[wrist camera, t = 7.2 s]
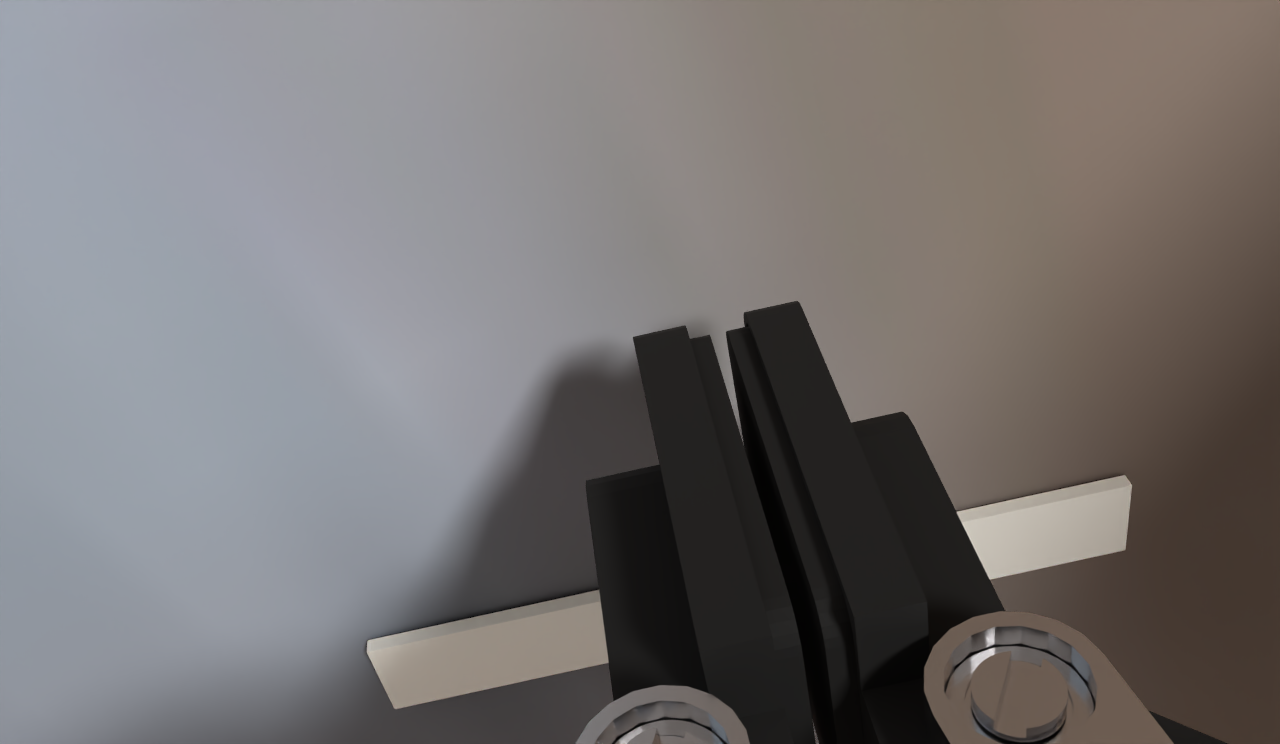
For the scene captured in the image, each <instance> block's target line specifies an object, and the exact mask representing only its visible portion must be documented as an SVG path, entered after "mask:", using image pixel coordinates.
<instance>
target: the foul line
mask: <svg viewBox="0 0 1280 744" xmlns="http://www.w3.org/2000/svg"><path fill="white" fill-rule="evenodd" d="M1131 491H1132V484H1131V483H1130V482H1129V480H1128V479H1127V477H1126V476H1125V475H1123V476H1118V477H1113V478H1109V479H1104V480H1100V481H1095V482H1090V483H1086V484H1081V485H1077V486H1072V487H1068V488H1063V489H1058V490H1054V491H1049V492H1045V493H1040V494H1035V495H1031V496H1026V497H1022V498H1017V499H1013V500H1008V501H1003V502H999V503H994V504H990V505H985V506H981V507H976V508H971V509H967V510H962V511H958V512H957V514H958V516H959V518H960V521H961V523H962V525H963V527H964V529H965V531H966V533H967V535H968V537H969V539H970V541H971V543H972V545H973V547H974V549H975V551H976V553H977V555H978V557H979V559H980V561H981V563H982V565H983V567H984V569H985V571H986V573H987V575H988V577H989V579H990V580H991V579H995V578H1000V577H1004V576H1009V575H1014V574H1018V573H1023V572H1027V571H1032V570H1037V569H1041V568H1046V567H1050V566H1055V565H1059V564H1064V563H1069V562H1073V561H1078V560H1082V559H1087V558H1092V557H1096V556H1101V555H1105V554H1110V553H1115V552H1119V551H1124V550H1125V549H1126V539H1127V530H1128V520H1129V510H1130V501H1131ZM367 654H368V656H369V658H370V660H371V662H372V664H373V666H374V668H375V670H376V672H377V674H378V676H379V678H380V680H381V682H382V685H383V687H384V689H385V691H386V693H387V695H388V697H389V699H390V701H391V703H392V705H393V707H394V709H399V708H403V707H408V706H413V705H417V704H422V703H426V702H431V701H436V700H440V699H445V698H449V697H454V696H458V695H463V694H468V693H472V692H477V691H481V690H486V689H491V688H495V687H500V686H504V685H509V684H514V683H518V682H523V681H527V680H532V679H536V678H541V677H546V676H550V675H555V674H559V673H564V672H569V671H573V670H578V669H582V668H587V667H591V666H596V665H601V664H605V663H609V661H608V653H607V646H606V638H605V631H604V623H603V615H602V608H601V600H600V593H599V590H596V591H591V592H587V593H582V594H578V595H573V596H568V597H564V598H559V599H555V600H550V601H545V602H541V603H536V604H532V605H527V606H523V607H518V608H513V609H509V610H504V611H500V612H495V613H490V614H486V615H481V616H477V617H472V618H468V619H463V620H458V621H454V622H449V623H445V624H440V625H436V626H431V627H426V628H422V629H417V630H413V631H408V632H403V633H399V634H394V635H390V636H385V637H381V638H376V639H371V640H368V642H367Z"/></svg>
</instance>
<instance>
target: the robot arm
mask: <svg viewBox="0 0 1280 744" xmlns="http://www.w3.org/2000/svg"><path fill="white" fill-rule="evenodd" d="M744 325H745V327H744V328H739V329H734V330H730V331H727V332H726V337H727V344H728V350H729V356H730V362H731V368H732V374H733V380H734V387H735V393H736V399H737V405H738V411H739V417H740V423H741V429H742V435H743V441H744V445H743V442H742V439H741V435H740V432H739V429H738V426H737V422H736V419H735V416H734V412H733V409H732V406H731V402H730V399H729V396H728V393H727V389H726V386H725V383H724V379H723V376H722V373H721V370H720V366H719V363H718V360H717V356H716V353H715V350H714V346H713V343H712V340H711V337H710V335H707V336H703V337H698V338H693V339H690V338H689V335H688V331H687V328H686V326H681V327H676V328H672V329H667V330H662V331H658V332H653V333H649V334H644V335H640V336H635V337H633V340H634V345H635V350H636V354H637V359H638V364H639V369H640V373H641V378H642V383H643V388H644V392H645V397H646V402H647V406H648V411H649V416H650V421H651V425H652V430H653V435H654V440H655V444H656V449H657V454H658V459H659V463H660V465H656V466H651V467H647V468H642V469H638V470H633V471H629V472H624V473H620V474H615V475H610V476H606V477H601V478H597V479H592V480H588V481H586V493H587V502H588V509H589V517H590V524H591V532H592V540H593V547H594V555H595V562H596V570H597V578H598V585H599V593H600V600H601V608H602V615H603V623H604V631H605V638H606V646H607V653H608V661H609V669H610V676H611V684H612V691H613V699H614V701H613V702H611V703H609V704H608V705H607V706H606V707H605V708H604V709H603V710H601V711H600V712H599V713H598V714H597V715H596V716H595V717H594V718H593V719H591V720H590V721H589V722H588V724H587V725H586V727H585V729H584V730H583V732H582V734H581V735H580V737H579V738H578V740H577V742H576V743H575V744H816V743H815V736H814V729H813V723H814V727H815V730H816V734H817V737H818V740H819V744H1227V743H1225V742H1222V741H1220V740H1218V739H1215V738H1213V737H1210V736H1208V735H1206V734H1203V733H1201V732H1198V731H1196V730H1194V729H1191V728H1189V727H1187V726H1184V725H1182V724H1179V723H1177V722H1175V721H1172V720H1170V719H1167V718H1165V717H1163V716H1160V715H1158V714H1155V713H1153V712H1151V711H1148V710H1147V709H1146V707H1145V706H1144V705H1143V703H1142V702H1141V701H1140V700H1139V698H1138V697H1137V696H1136V694H1135V693H1134V692H1133V691H1132V689H1131V688H1130V687H1129V685H1128V684H1127V683H1126V682H1125V680H1124V679H1123V678H1122V676H1121V675H1120V674H1119V673H1118V671H1117V670H1116V669H1115V668H1114V666H1113V665H1112V664H1111V662H1110V661H1109V660H1108V659H1107V657H1106V656H1105V655H1104V653H1103V652H1102V651H1100V650H1099V649H1098V648H1097V647H1096V646H1095V645H1094V644H1093V643H1092V642H1091V641H1090V640H1089V639H1088V638H1087V637H1086V636H1085V635H1084V634H1082V633H1081V632H1079V631H1077V630H1075V629H1073V628H1071V627H1070V626H1068V625H1066V624H1064V623H1062V622H1060V621H1059V620H1056V619H1052V618H1049V617H1045V616H1041V615H1037V614H1034V613H1030V612H1007V611H1005V610H1004V608H1003V606H1002V604H1001V602H1000V600H999V598H998V596H997V594H996V592H995V590H994V588H993V585H992V583H991V581H990V579H989V577H988V575H987V573H986V571H985V569H984V567H983V565H982V563H981V561H980V559H979V557H978V555H977V553H976V551H975V549H974V547H973V545H972V543H971V541H970V539H969V537H968V535H967V533H966V531H965V529H964V527H963V525H962V523H961V521H960V518H959V516H958V514H957V512H956V510H955V508H954V506H953V504H952V502H951V500H950V498H949V496H948V494H947V492H946V490H945V488H944V486H943V484H942V482H941V480H940V478H939V476H938V474H937V472H936V470H935V468H934V466H933V464H932V462H931V460H930V458H929V456H928V454H927V451H926V449H925V447H924V445H923V443H922V441H921V439H920V437H919V435H918V433H917V431H916V429H915V427H914V425H913V424H912V422H911V420H910V419H909V417H908V416H907V415H906V414H905V413H904V412H898V413H894V414H889V415H884V416H880V417H875V418H871V419H866V420H862V421H857V422H852V423H851V422H850V419H849V417H848V415H847V412H846V410H845V408H844V405H843V403H842V401H841V398H840V396H839V394H838V391H837V389H836V387H835V384H834V382H833V380H832V377H831V375H830V373H829V370H828V368H827V366H826V363H825V361H824V358H823V356H822V354H821V351H820V349H819V347H818V344H817V342H816V340H815V337H814V335H813V333H812V330H811V328H810V326H809V323H808V321H807V319H806V316H805V314H804V312H803V309H802V307H801V305H800V303H799V302H798V301H794V302H790V303H785V304H781V305H776V306H772V307H767V308H763V309H758V310H753V311H749V312H744ZM744 447H745V449H744ZM812 720H813V722H812Z"/></svg>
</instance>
